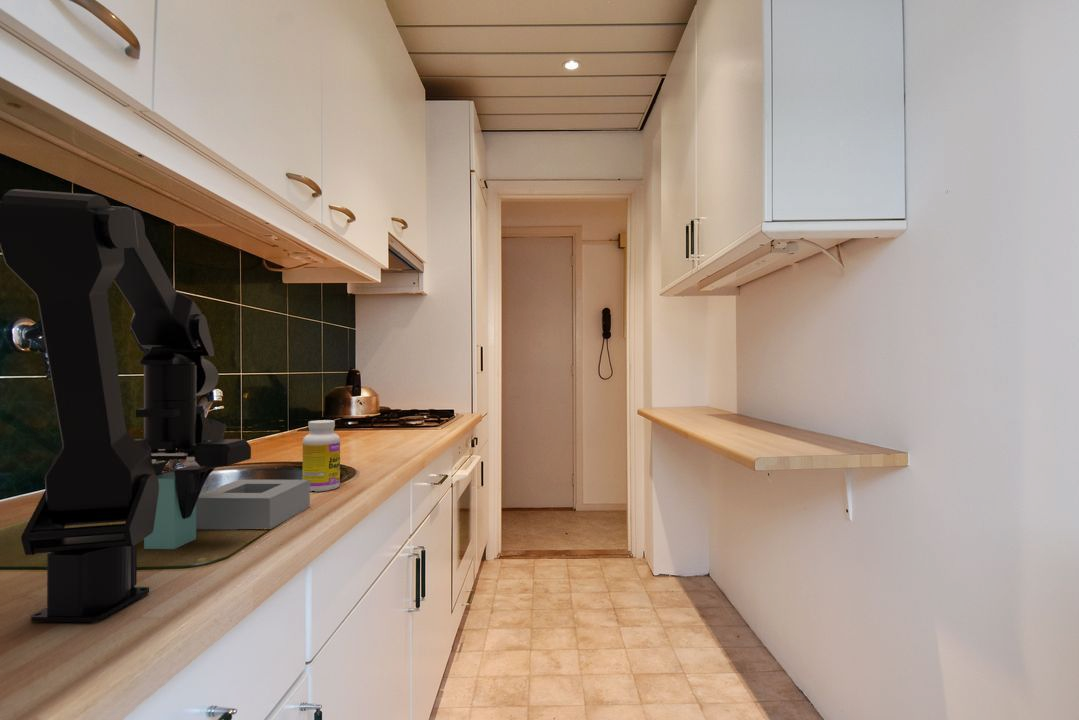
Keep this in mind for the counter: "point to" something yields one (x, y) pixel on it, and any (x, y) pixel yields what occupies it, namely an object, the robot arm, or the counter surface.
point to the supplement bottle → (321, 456)
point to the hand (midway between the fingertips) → (170, 517)
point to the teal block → (170, 518)
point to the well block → (252, 504)
